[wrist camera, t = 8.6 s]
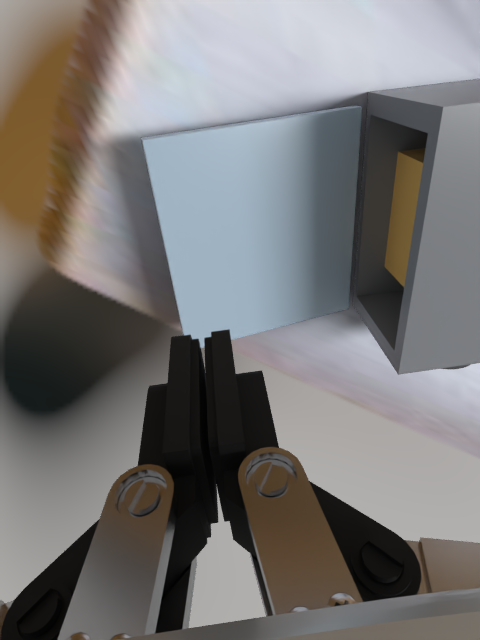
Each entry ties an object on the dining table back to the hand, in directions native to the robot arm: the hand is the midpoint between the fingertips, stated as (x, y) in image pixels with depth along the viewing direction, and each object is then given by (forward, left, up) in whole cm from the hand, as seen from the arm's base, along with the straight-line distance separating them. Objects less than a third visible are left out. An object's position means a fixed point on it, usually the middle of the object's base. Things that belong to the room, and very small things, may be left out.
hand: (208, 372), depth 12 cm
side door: (+1, +9, -13) cm, 16 cm away
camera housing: (+1, +14, -14) cm, 20 cm away
